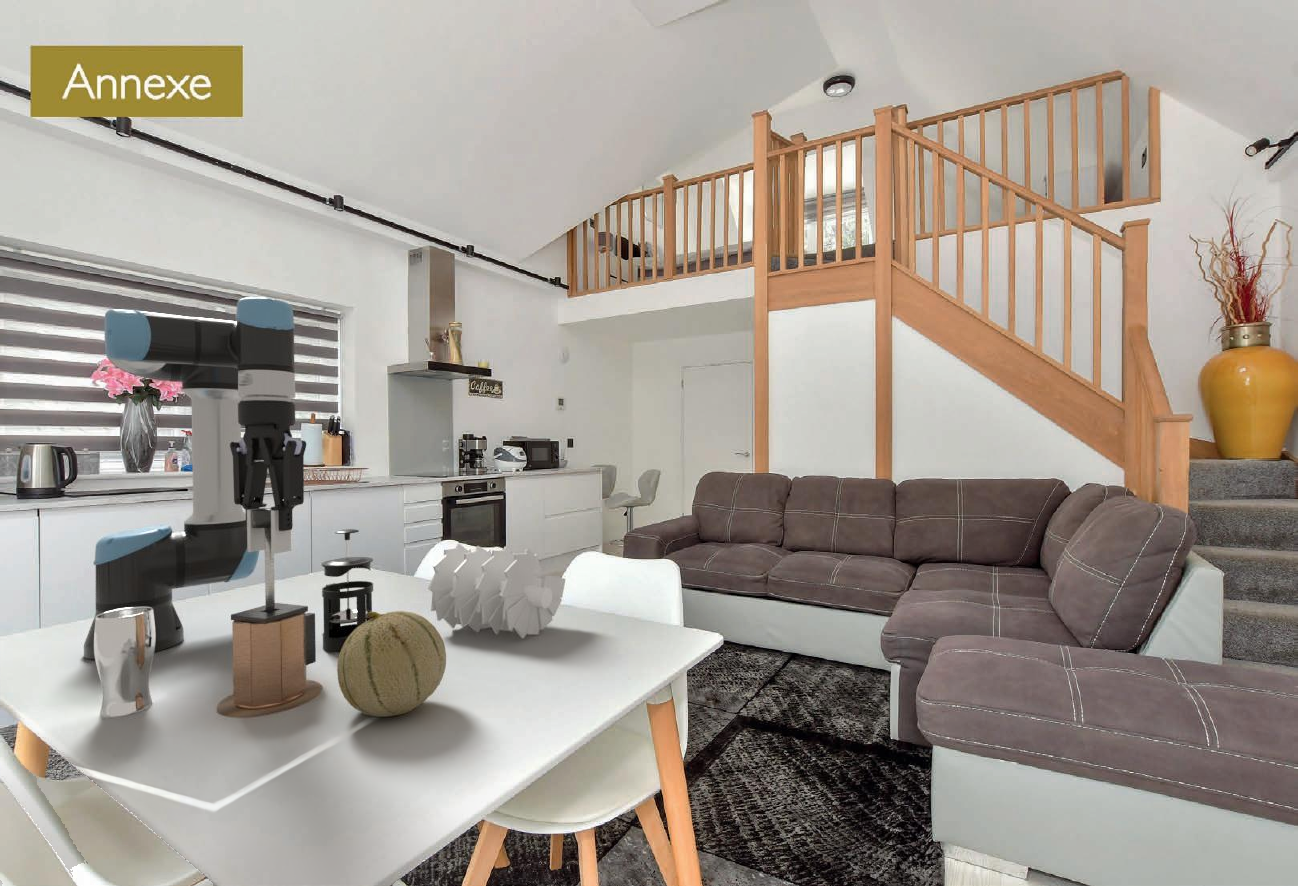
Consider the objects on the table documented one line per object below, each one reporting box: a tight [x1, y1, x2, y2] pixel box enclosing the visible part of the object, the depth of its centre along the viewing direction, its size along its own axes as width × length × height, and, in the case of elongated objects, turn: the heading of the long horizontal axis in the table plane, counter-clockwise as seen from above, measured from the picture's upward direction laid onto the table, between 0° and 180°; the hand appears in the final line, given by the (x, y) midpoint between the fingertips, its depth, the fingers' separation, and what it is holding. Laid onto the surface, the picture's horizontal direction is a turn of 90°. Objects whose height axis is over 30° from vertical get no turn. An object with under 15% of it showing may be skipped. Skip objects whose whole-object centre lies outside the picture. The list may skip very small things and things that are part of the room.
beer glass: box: [94, 607, 156, 719], centre depth 91 cm, size 7×7×15 cm
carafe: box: [230, 602, 317, 710], centre depth 95 cm, size 9×12×13 cm
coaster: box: [215, 679, 324, 719], centre depth 94 cm, size 14×14×1 cm
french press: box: [321, 528, 374, 654], centre depth 119 cm, size 12×9×23 cm
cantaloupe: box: [336, 610, 447, 718], centre depth 90 cm, size 15×15×15 cm
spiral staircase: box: [428, 543, 566, 640], centre depth 128 cm, size 18×18×25 cm
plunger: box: [252, 507, 276, 613], centre depth 94 cm, size 6×6×21 cm
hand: (269, 550), depth 94 cm, fingers closed on plunger, 4 cm apart
